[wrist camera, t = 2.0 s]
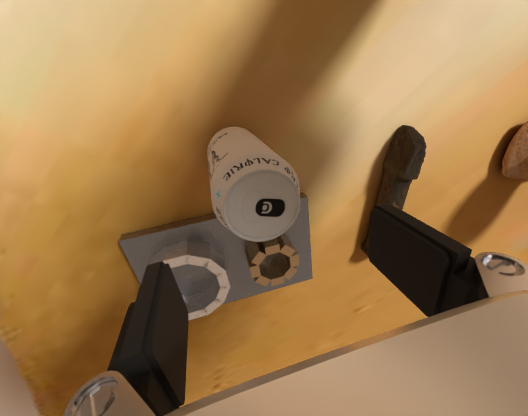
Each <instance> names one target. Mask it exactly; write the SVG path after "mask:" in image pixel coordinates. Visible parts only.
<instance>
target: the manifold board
mask: <svg viewBox="0 0 528 416" xmlns="http://www.w3.org/2000/svg"><path fill="white" fill-rule="evenodd" d="M300 201H301V204H300V210H299V213H298V216H297V218H296V220H295V222H294V223H293V224H292V226H291V227H290V228H289V229H288V230H287V231H286V232H285V233H283V234H282V235H280V236H278V237H276V238H274V239H271V240H268V241H261V242H255V241H248V240H245V239H242V238H240V237H238V236H237V235H236V234H234V233H233V232H232V231H231V230H229V229H228V228H226V227H225V226H224V225H223V224H222V223H221V222H220V221H219V220H218V218H217V216H216V215H215V213H213V214H209V215H205V216H200V217H196V218H192V219H187V220H183V221H179V222H175V223H170V224H166V225H162V226H157V227H153V228H149V229H144V230H140V231H136V232H131V233H127V234H123V235H122V236H121V238H120V239H119V241H118V242H119V244H120V246H121V247H122V249H123V251H124V253H125V255H126V257H127V259H128V261H129V263H130V265H131V267H132V269H133V271H134V273H135V275H136V277H137V279H138V281H139V283H140V285H141V283H142V279H143V276H144V273H145V270H146V267H147V265H149V264H153V263H156V262H160V261H163V263H164V264H167V263H168V264H169V265H170V268H171V270H172V273H173V275H174V277H175V280H176V282H177V285H178V287H179V290H180V292H181V295H182V297H183V299H184V302H185V304H186V307H187V310H188V316H189V318H188V321H189V320H192V319H195V318H199V317H202V316H206V315H208V314H210V313H211V312H213V311H214V310H215V309H216V308H218V307H219V306H220V305H222V304H225V303H229V302H232V301H236V300H239V299H243V298H246V297H250V296H253V295H257V294H260V293H264V292H267V291H270V290H274V289H277V288H281V287H284V286H288V285H291V284H295V283H298V282H302V281H305V280H309V279H312V263H311V247H310V230H309V214H308V198H307V196H306V195H305V194H304V193H300Z"/></svg>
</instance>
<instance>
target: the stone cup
mask: <svg viewBox="0 0 528 416" xmlns="http://www.w3.org/2000/svg"><path fill="white" fill-rule="evenodd" d="M502 165H503V167H502V174H503V175H504V176H506V177H509V178H515V179H528V121H527V122H526V123H525V124H524V125H523V126H522V127H521V128H520V129H519V130H518V131H517V133H516V134H515V135H514V137H513V139H512V140H511V142H510V144H509V146H508V148H507V150H506V152H505V155H504V158H503V161H502Z"/></svg>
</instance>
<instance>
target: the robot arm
mask: <svg viewBox="0 0 528 416" xmlns="http://www.w3.org/2000/svg"><path fill="white" fill-rule="evenodd" d="M471 251H472V250H471V249H470V248H468V247H466V246H464V245H462V244H461V243H459V242H457V241H455V240H453V239H452V238H450V237H448V236H446V235H445V234H443V233H441V232H439V231H437V230H436V229H434V228H432V227H430V226H429V225H427V224H425V223H423V222H421V221H420V220H418V219H416V218H414V217H413V216H411V215H409V214H407V213H405V212H404V211H402V210H400V209H398V208H397V207H395V206H393V205H391V204H389V203H384V204H381V205H377V206H375V207H374V209H373V210H372V211H371V219H370V235H369V250H368V257H369V260H370V262H371V263H372V264H373V265H374V266H375V267H376V268H377V269H378V270H379V271H380V272H381V273H382V274H384V275H385V276H386V277H387V278H388V279H389V280H390V281H391V282H392V283H393V284H394V285H395V286H396V287H397V288H398V289H399V290H400V291H401V292H402V293H403V294H404V295H405V296H406V297H407V298H408V299H409V300H410V301H412V302H413V303H414V304H415V305H416V306H417V307H418V308H419V309H420V310H421V311H422V312H423V313H424V314H425V315H426V316H428V318H425V319H422V320H419V321H416V322H413V323H410V324H407V325H405V326H402V327H399V328H396V329H393V330H390V331H387V332H384V333H382V334H379V335H376V336H373V337H370V338H367V339H364V340H362V341H359V342H356V343H353V344H350V345H347V346H345V347H342V348H339V349H336V350H333V351H330V352H328V353H325V354H322V355H319V356H316V357H313V358H311V359H308V360H305V361H302V362H300V363H297V364H294V365H291V366H288V367H286V368H283V369H280V370H277V371H274V372H272V373H269V374H266V375H263V376H260V377H258V378H255V379H252V380H249V381H247V382H244V383H241V384H239V385H236V386H233V387H231V388H228V389H225V390H223V391H220V392H218V393H215V394H212V395H210V396H207V397H204V398H202V399H199V400H197V401H195V402H192V403H190V404H188V405H185V406H183V407H181V408H179V406H181V405H183V404H184V401H185V383H186V362H187V340H188V318H189V316H188V310H187V307H186V304H185V302H184V299H183V297H182V295H181V292H180V290H179V287H178V285H177V282H176V280H175V277H174V275H173V273H172V270H171V268H170V265H169V264H168V263H167V264H164V263H163V261H160V262H156V263H153V264H149V265H147V267H146V270H145V273H144V276H143V279H142V283H141V286H140V289H139V292H138V296H137V299H136V302H133V303H131V304H130V305H129V308H128V310H127V313H126V316H125V319H124V322H123V325H122V328H121V331H120V334H119V337H118V340H117V343H116V346H115V349H114V352H113V355H112V358H111V361H110V364H109V367H108V370H107V372H103V373H101V374H99V375H97V376H95V377H93V378H92V379H90V380H89V381H88V382H86V383H85V384H84V385H83V386H82V387H81V388H80V389H79V390H78V391H77V392H76V393H75V395H74V396H73V397H72V399H71V400H70V402H69V404H68V406H67V408H66V410H65V412H64V416H528V266H527V265H526V264H525V263H523V262H522V261H520V260H518V259H516V258H514V257H512V256H509V255H505V254H501V253H496V252H483V253H480V254H477V256H476V257H475V259H474V258H473V257H471V256H470V254H471Z"/></svg>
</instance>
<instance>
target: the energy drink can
mask: <svg viewBox="0 0 528 416" xmlns="http://www.w3.org/2000/svg"><path fill="white" fill-rule="evenodd" d="M207 158H208V169H209V180H210V191H211V202H212V206H213V210H214V213H215V215H216V216H217V218H218V220H219V221H220V222H221V223H222V224H223V225H224V226H225V227H226V228H228V229H229V230H231V231H232V232H233V233H234V234H236V235H237V236H238V237H240V238H242V239H245V240H248V241H255V242H261V241H268V240H271V239H274V238H276V237H278V236H280V235H282V234H283V233H285V232H286V231H287V230H288V229H289V228H290V227H291V226H292V224H293V223H294V222H295V220H296V218H297V216H298V213H299V210H300V204H301V201H300V184H299V180H298V177H297V175H296V173H295V171H294V169H293V168H292V167H291V166H290V165H289V163H288V162H286V161H285V160H284V159H283V158H282V157H280V156H279V155H278V154H277V153H275V152H274V151H273V150H272V149H271V148H269V147H268V146H267V145H266V144H265V143H263V142H262V141H261V140H260V139H258V138H257V137H256V136H255V135H254V134H252V133H251V132H250V131H248V130H246V129H244V128H241V127H233V126H232V127H227V128H224V129H222V130H220V131H219V132H217V133H216V134H215V135H214V136H213V137H212V139H211V141H210V143H209V145H208V150H207Z"/></svg>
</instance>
